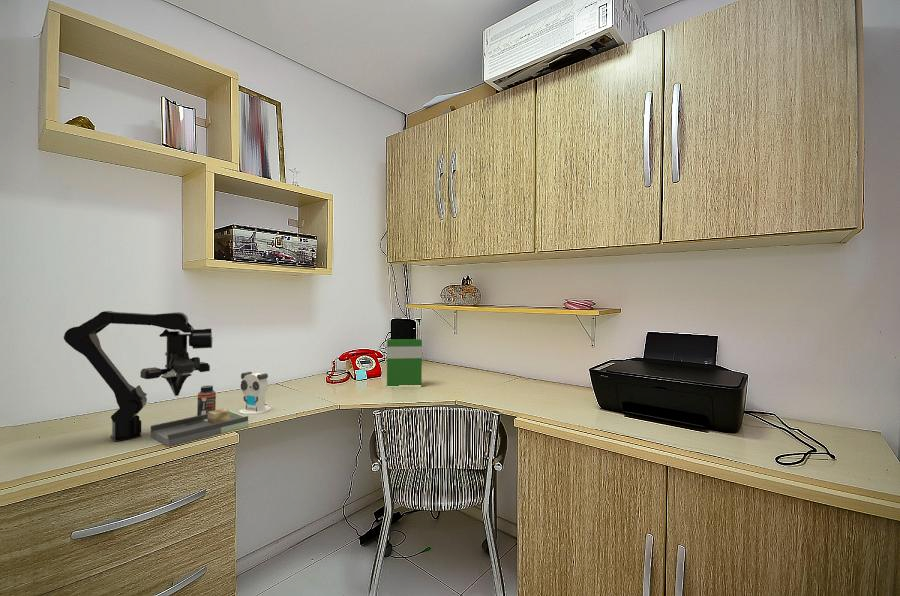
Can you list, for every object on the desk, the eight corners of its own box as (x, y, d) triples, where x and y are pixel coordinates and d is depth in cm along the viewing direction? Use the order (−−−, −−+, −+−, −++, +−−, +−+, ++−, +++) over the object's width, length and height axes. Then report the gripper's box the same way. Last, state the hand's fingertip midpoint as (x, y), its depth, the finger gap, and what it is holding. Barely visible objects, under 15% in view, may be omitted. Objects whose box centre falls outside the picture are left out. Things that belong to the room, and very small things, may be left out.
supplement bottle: (206, 418, 148) (207, 388, 148) (193, 417, 149) (193, 387, 149) (219, 414, 154) (219, 385, 154) (206, 413, 155) (206, 384, 155)
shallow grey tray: (168, 446, 120) (168, 435, 120) (150, 436, 128) (150, 425, 128) (248, 426, 139) (248, 416, 139) (227, 418, 148) (227, 409, 148)
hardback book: (420, 384, 211) (420, 339, 211) (421, 387, 204) (421, 340, 204) (387, 384, 209) (387, 339, 209) (386, 388, 201) (387, 340, 201)
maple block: (214, 424, 135) (214, 414, 135) (207, 421, 138) (207, 411, 138) (229, 421, 139) (229, 411, 139) (222, 418, 142) (222, 408, 142)
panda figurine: (231, 411, 157) (232, 374, 157) (256, 405, 167) (257, 369, 167) (252, 415, 152) (252, 376, 152) (276, 408, 162) (277, 372, 162)
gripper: (152, 354, 122) (152, 405, 122) (217, 348, 137) (216, 393, 137) (140, 351, 128) (139, 399, 128) (203, 346, 143) (202, 389, 143)
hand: (176, 395), depth 134 cm, fingers closed
